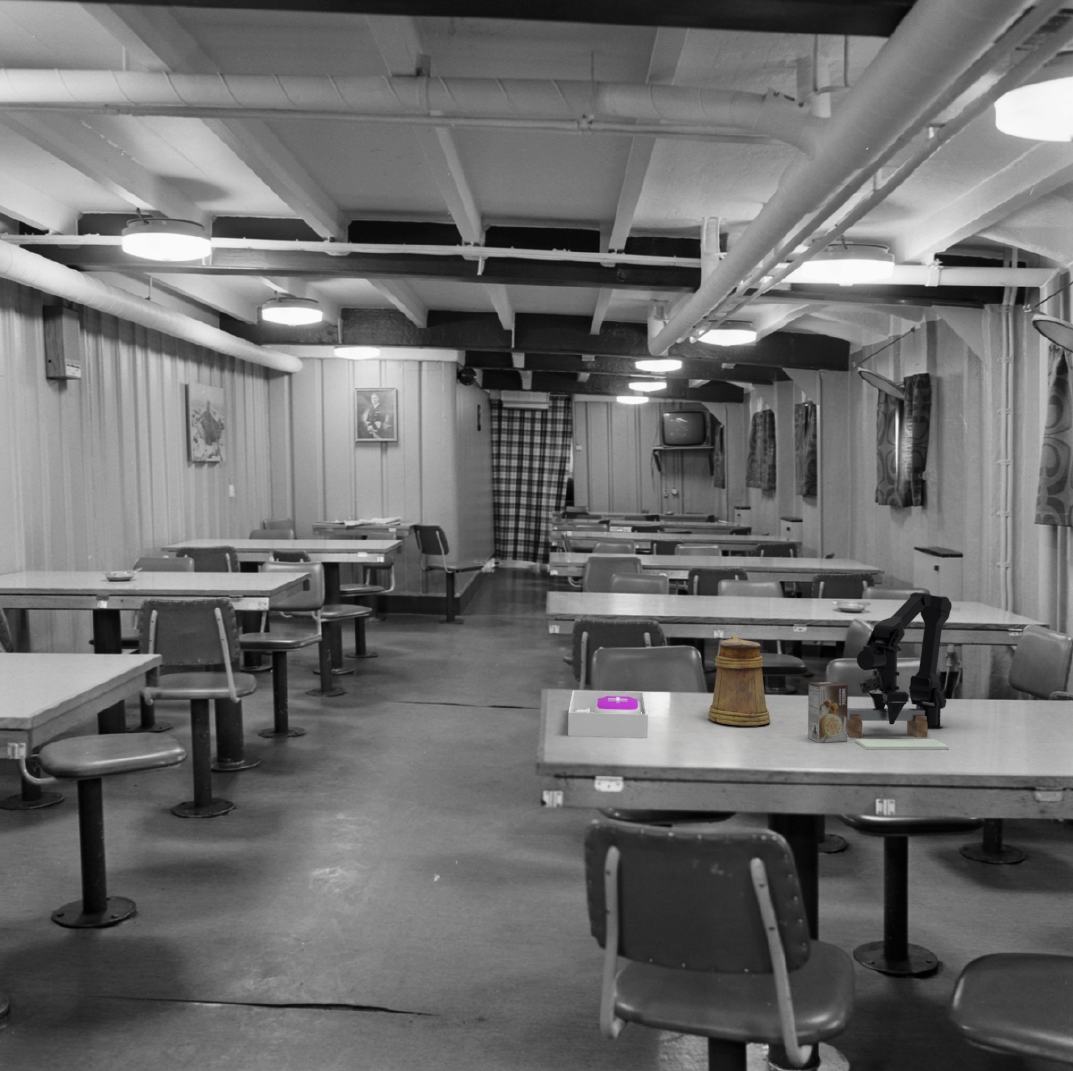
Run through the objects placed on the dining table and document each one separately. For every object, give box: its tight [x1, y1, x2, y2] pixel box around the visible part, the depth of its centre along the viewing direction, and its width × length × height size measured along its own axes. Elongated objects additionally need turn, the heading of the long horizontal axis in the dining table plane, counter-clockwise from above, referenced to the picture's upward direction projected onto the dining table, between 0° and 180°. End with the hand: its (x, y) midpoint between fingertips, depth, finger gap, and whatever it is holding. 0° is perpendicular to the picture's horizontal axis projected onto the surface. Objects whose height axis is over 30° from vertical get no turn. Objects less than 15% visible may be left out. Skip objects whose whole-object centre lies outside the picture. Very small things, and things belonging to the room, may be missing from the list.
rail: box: [847, 707, 925, 722], centre depth 302 cm, size 22×3×3 cm, turn 93°
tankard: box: [708, 634, 771, 726], centre depth 321 cm, size 18×24×25 cm
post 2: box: [906, 716, 928, 739], centre depth 303 cm, size 3×7×6 cm, turn 3°
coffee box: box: [807, 681, 849, 744], centre depth 295 cm, size 9×6×16 cm
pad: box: [854, 738, 950, 751], centre depth 290 cm, size 23×9×1 cm, turn 93°
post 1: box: [847, 716, 863, 739], centre depth 302 cm, size 3×7×6 cm, turn 3°
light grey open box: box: [567, 690, 649, 739], centre depth 313 cm, size 22×35×7 cm, turn 176°
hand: (885, 720), depth 303 cm, fingers open, 9 cm apart
